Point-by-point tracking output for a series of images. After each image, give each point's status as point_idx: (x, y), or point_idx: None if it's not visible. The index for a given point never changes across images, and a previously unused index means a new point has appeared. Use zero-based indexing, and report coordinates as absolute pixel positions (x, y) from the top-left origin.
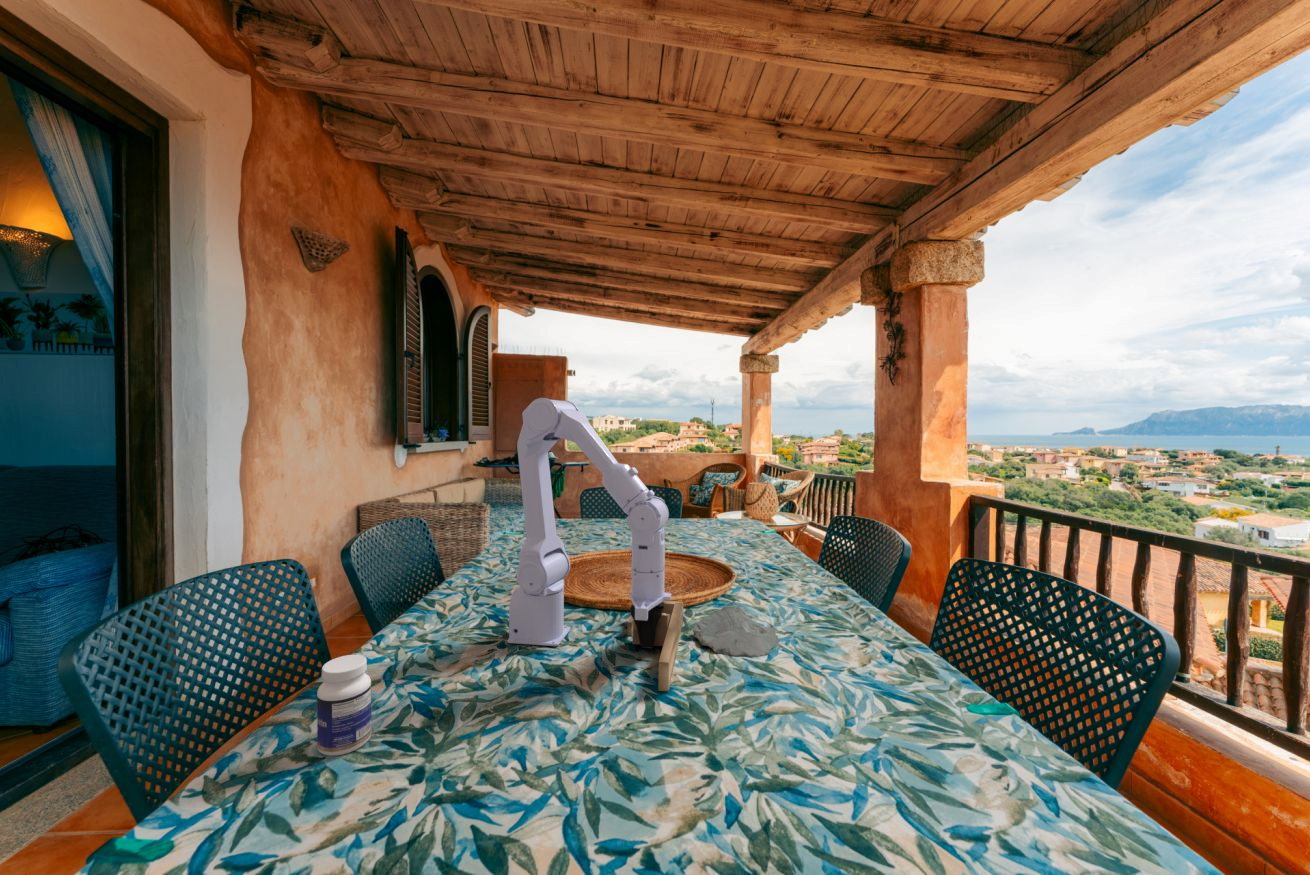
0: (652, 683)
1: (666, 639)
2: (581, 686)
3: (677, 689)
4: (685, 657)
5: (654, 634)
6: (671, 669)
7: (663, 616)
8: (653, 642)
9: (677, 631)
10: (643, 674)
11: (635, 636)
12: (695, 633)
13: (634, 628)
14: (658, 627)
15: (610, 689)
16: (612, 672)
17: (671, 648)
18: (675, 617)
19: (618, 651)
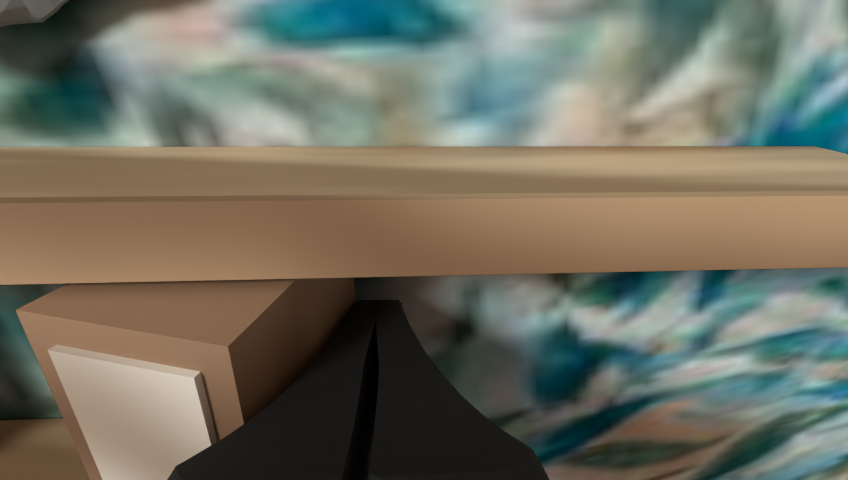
0: None
1: (589, 260)
2: (697, 467)
3: (800, 99)
4: (399, 79)
5: (422, 348)
6: (701, 157)
7: (242, 378)
8: (404, 317)
9: (245, 181)
10: (620, 287)
11: None
12: (4, 12)
13: None
14: (303, 346)
15: (737, 382)
16: (595, 405)
17: (775, 201)
18: (24, 241)
19: None
